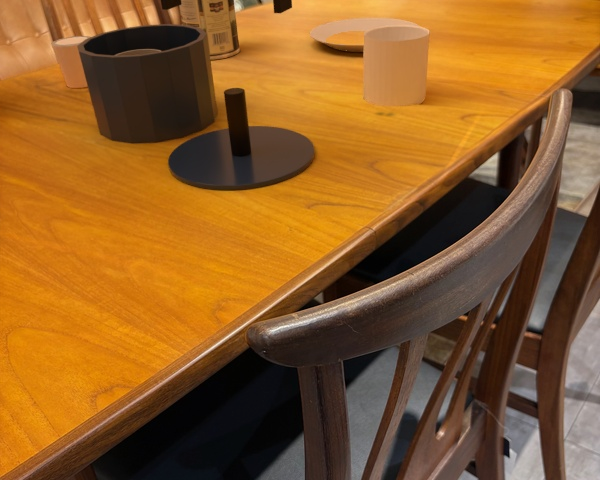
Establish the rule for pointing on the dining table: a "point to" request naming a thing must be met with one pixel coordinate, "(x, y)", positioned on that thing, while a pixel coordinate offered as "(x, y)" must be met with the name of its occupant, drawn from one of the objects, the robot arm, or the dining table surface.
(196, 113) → the pot
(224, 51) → the coffee can
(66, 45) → the shot glass
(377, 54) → the mug
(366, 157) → the dining table surface
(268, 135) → the lid
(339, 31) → the plate
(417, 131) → the dining table surface
